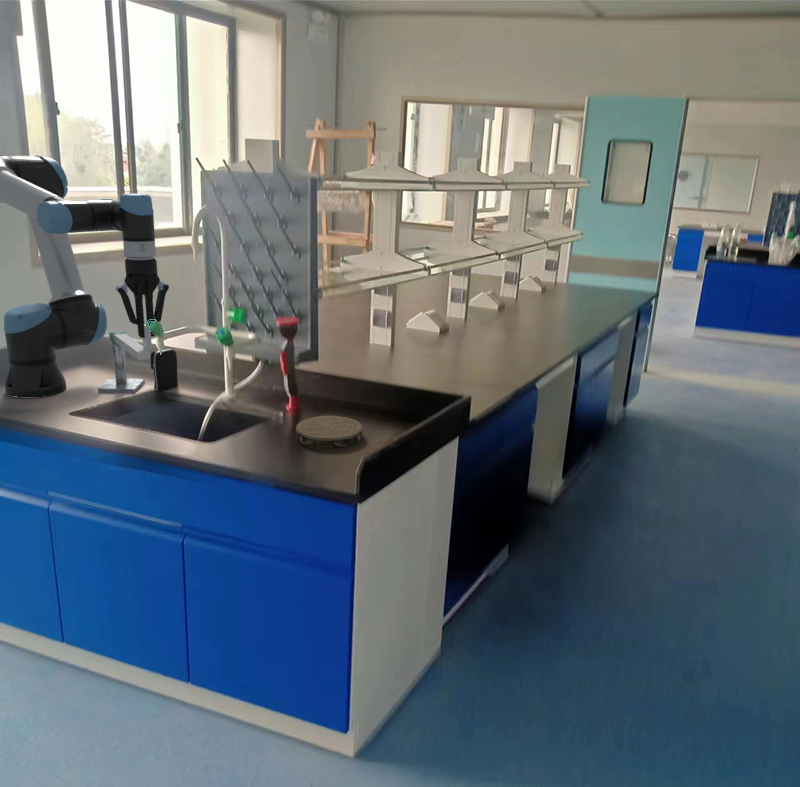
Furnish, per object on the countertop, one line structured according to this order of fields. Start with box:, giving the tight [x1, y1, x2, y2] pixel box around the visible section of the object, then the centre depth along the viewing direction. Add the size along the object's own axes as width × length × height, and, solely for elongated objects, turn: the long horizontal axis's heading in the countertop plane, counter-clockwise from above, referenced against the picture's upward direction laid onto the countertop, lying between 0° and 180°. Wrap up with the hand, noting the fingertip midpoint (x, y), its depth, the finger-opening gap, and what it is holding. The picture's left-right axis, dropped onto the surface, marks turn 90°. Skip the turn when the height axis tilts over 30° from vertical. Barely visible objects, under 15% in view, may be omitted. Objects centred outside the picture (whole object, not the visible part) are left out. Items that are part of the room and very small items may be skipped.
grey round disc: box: [295, 415, 363, 450], centre depth 177 cm, size 16×16×3 cm
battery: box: [149, 348, 179, 392], centre depth 207 cm, size 7×4×11 cm, turn 142°
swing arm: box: [108, 330, 151, 361], centre depth 195 cm, size 26×4×2 cm, turn 35°
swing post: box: [97, 341, 146, 394], centre depth 206 cm, size 10×10×14 cm
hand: (147, 349), depth 190 cm, fingers closed
